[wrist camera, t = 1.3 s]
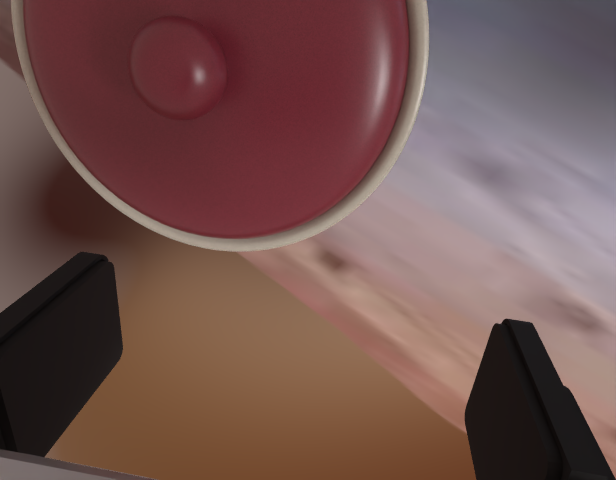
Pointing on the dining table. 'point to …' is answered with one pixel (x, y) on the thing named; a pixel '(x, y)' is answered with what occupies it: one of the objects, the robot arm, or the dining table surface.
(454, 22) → the dining table surface
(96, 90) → the canister
